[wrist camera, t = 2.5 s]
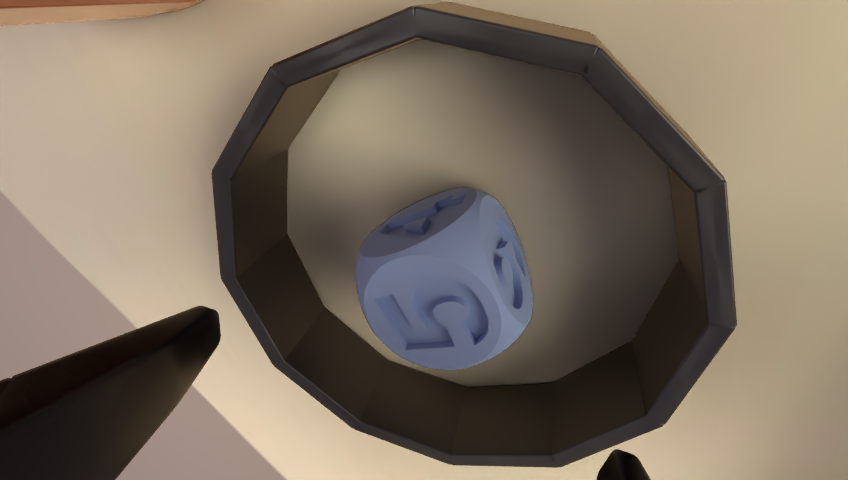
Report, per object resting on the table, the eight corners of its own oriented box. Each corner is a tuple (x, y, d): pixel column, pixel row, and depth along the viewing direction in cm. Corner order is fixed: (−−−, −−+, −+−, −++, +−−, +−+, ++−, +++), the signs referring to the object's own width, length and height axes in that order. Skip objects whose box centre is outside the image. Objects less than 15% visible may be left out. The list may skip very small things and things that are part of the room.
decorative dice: (384, 213, 15) (334, 274, 12) (490, 171, 14) (466, 231, 10) (435, 303, 17) (402, 382, 13) (537, 276, 15) (529, 359, 12)
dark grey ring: (812, 80, 11) (896, 111, 8) (591, 440, 18) (596, 519, 15) (271, -37, 13) (191, -44, 10) (274, 330, 20) (228, 383, 17)
